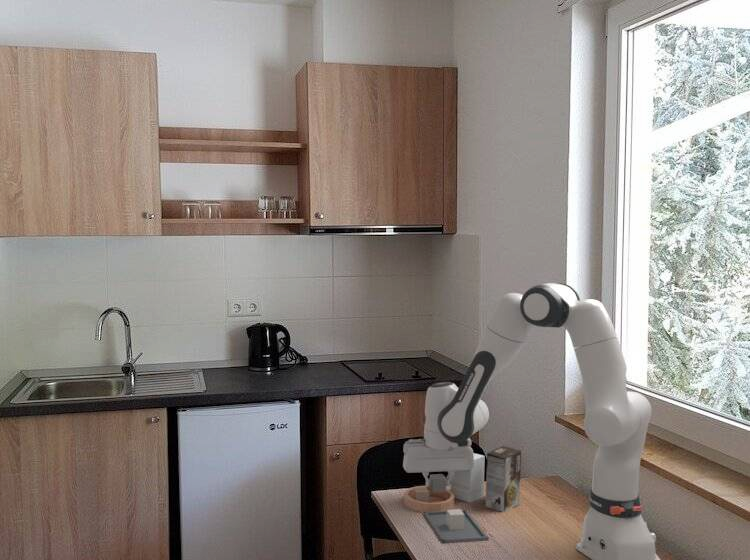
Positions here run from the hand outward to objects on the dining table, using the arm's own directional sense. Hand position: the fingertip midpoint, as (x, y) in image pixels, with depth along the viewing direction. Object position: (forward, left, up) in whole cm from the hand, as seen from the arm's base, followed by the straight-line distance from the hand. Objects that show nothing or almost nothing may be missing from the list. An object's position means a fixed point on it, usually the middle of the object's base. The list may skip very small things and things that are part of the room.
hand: (437, 485), depth 225 cm
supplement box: (+4, -10, -6) cm, 12 cm away
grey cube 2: (0, 0, -1) cm, 1 cm away
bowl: (0, +2, -5) cm, 6 cm away
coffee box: (-4, -18, -6) cm, 19 cm away
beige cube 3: (-17, 0, -5) cm, 18 cm away
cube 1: (0, +5, -5) cm, 7 cm away
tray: (-17, 0, -5) cm, 18 cm away
